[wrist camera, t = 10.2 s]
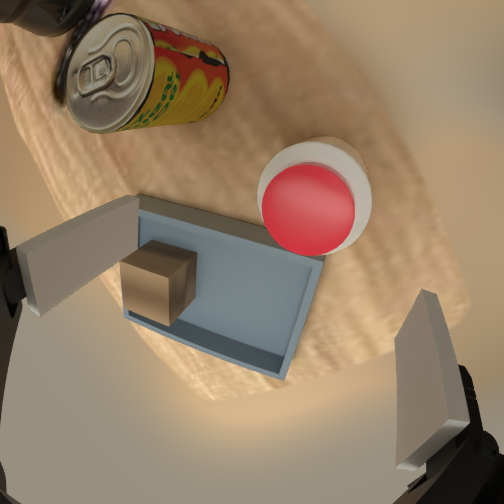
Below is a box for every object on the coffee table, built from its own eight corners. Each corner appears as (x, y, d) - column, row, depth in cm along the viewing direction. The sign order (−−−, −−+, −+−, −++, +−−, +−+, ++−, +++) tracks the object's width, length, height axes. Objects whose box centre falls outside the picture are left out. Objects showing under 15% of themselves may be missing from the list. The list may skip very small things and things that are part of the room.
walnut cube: (152, 239, 35) (119, 260, 30) (197, 252, 34) (168, 278, 29) (153, 283, 38) (124, 308, 33) (195, 297, 36) (169, 326, 31)
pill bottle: (295, 125, 26) (258, 128, 17) (379, 152, 25) (393, 171, 15) (275, 204, 30) (232, 248, 20) (352, 230, 28) (347, 289, 19)
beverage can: (238, 111, 27) (166, 111, 17) (159, 132, 30) (74, 148, 20) (220, 27, 24) (145, -9, 14) (145, 57, 27) (59, 47, 17)
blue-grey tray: (139, 194, 34) (118, 203, 31) (328, 245, 30) (323, 262, 26) (140, 302, 41) (124, 317, 38) (291, 359, 37) (283, 380, 33)
